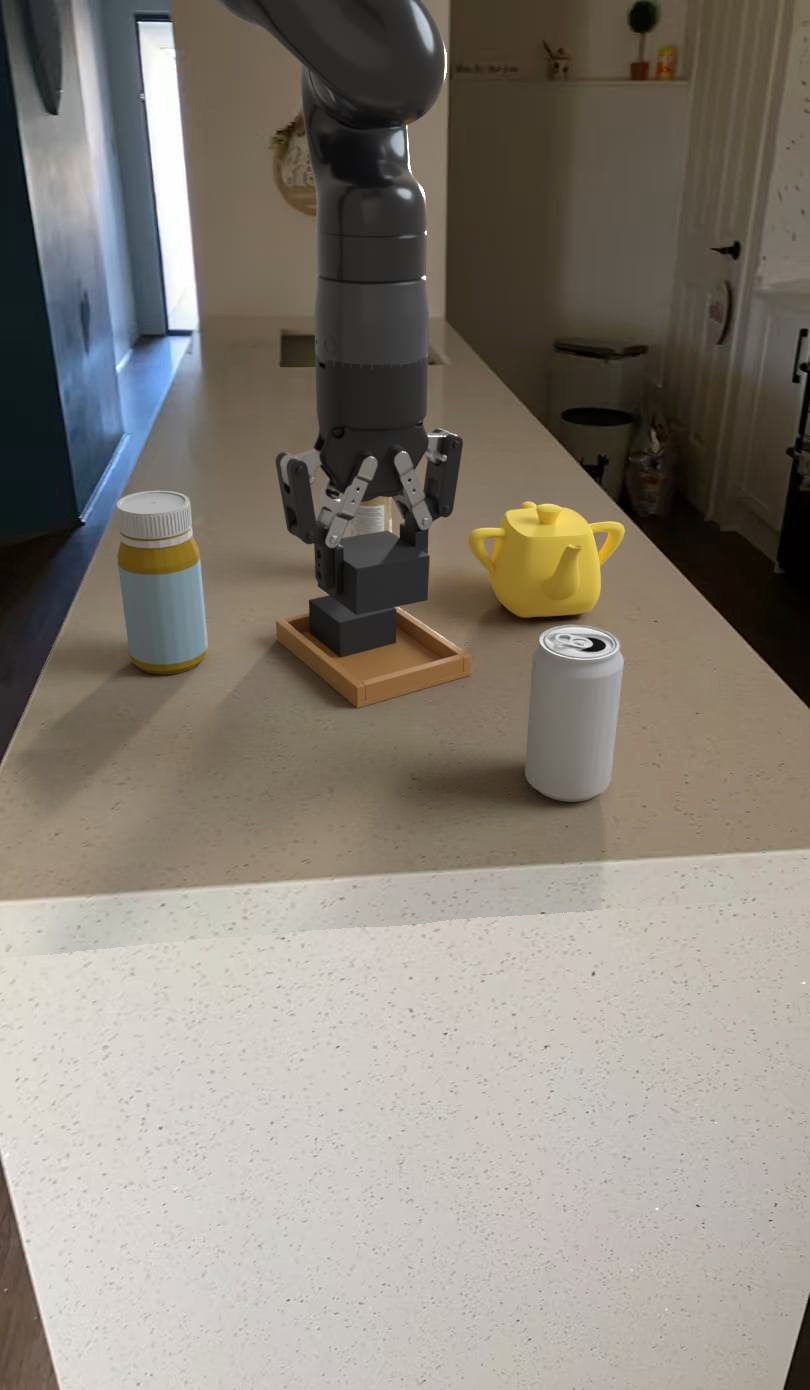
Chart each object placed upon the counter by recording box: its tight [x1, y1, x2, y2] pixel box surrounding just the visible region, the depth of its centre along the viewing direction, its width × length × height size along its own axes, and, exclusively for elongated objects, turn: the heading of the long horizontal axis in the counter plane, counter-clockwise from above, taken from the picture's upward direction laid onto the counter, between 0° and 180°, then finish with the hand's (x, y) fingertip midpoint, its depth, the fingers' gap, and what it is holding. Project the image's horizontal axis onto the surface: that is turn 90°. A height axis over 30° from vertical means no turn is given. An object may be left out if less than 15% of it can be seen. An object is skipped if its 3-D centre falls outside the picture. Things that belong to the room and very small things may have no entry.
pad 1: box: [317, 530, 431, 615], centre depth 80 cm, size 6×6×4 cm
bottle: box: [115, 490, 209, 675], centre depth 96 cm, size 7×7×15 cm
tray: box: [275, 606, 472, 709], centre depth 100 cm, size 12×16×2 cm
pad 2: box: [308, 594, 396, 658], centre depth 102 cm, size 6×6×4 cm
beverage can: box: [524, 624, 625, 803], centre depth 79 cm, size 6×6×12 cm
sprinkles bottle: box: [350, 496, 393, 537], centre depth 115 cm, size 5×5×13 cm
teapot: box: [467, 501, 626, 619], centre depth 109 cm, size 14×13×10 cm
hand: (372, 582), depth 80 cm, fingers closed on pad 1, 6 cm apart
